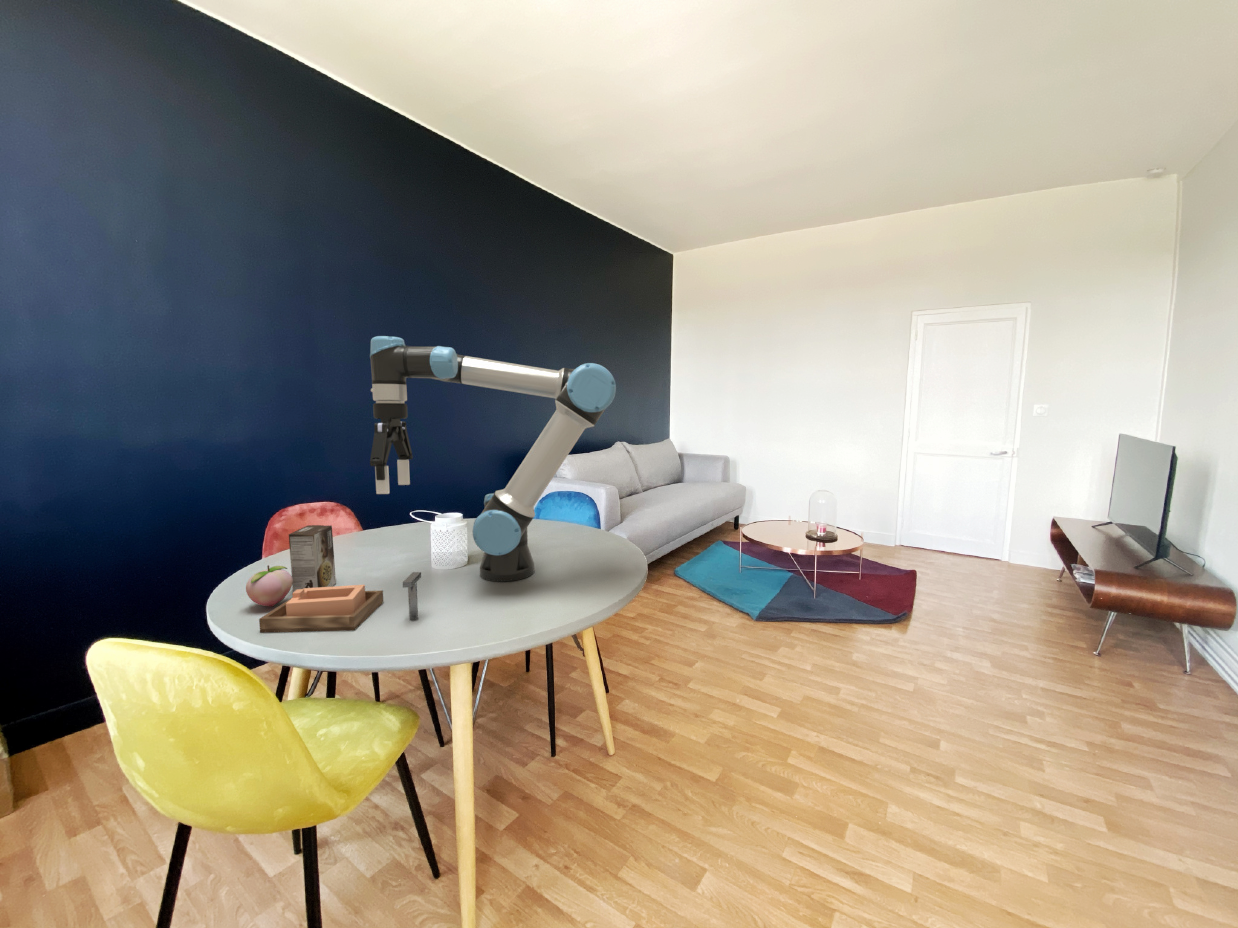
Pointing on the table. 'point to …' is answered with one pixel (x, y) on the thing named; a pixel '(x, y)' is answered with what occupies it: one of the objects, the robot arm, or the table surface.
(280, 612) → the tray
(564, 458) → the robot arm
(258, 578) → the decorative fruit
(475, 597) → the table surface
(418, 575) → the grey t-shaped block
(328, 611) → the terracotta rectangular box
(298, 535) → the coffee box
